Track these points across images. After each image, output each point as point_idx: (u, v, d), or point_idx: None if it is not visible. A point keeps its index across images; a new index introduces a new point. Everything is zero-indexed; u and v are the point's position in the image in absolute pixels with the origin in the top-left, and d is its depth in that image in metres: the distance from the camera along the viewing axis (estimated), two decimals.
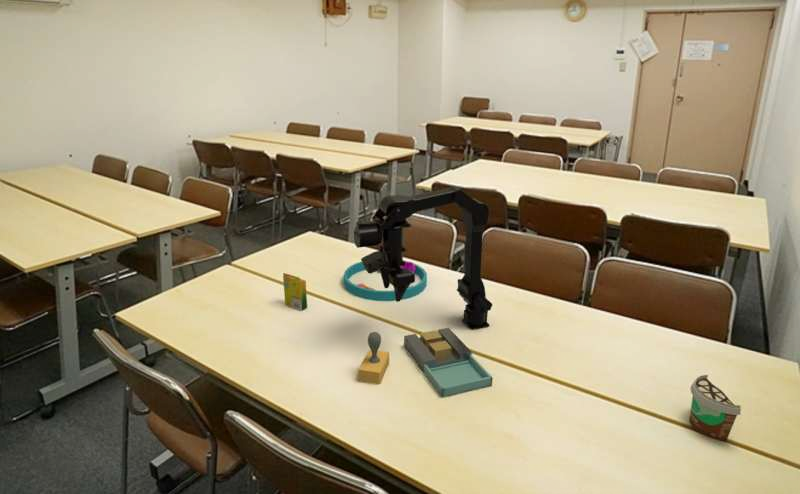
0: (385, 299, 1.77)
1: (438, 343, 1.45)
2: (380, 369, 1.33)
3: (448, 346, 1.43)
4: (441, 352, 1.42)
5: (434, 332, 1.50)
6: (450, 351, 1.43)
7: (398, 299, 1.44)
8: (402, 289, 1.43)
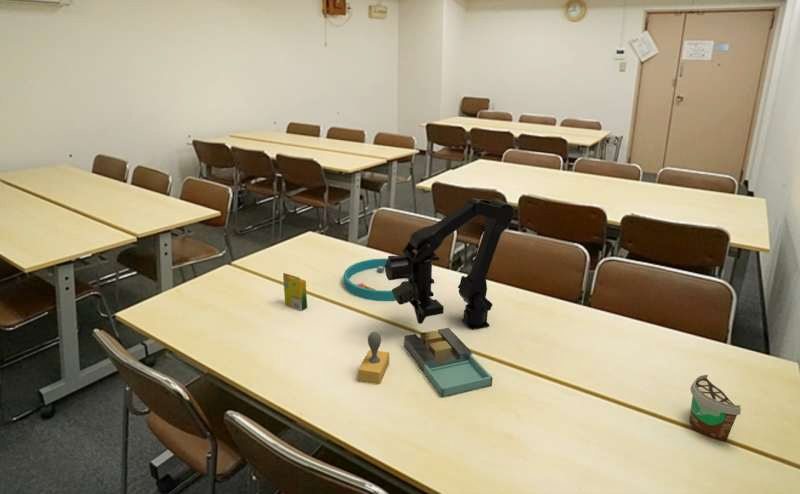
0: (385, 299, 1.77)
1: (438, 343, 1.45)
2: (380, 369, 1.33)
3: (448, 346, 1.43)
4: (441, 352, 1.42)
5: (434, 332, 1.50)
6: (450, 351, 1.43)
7: (420, 321, 1.55)
8: None
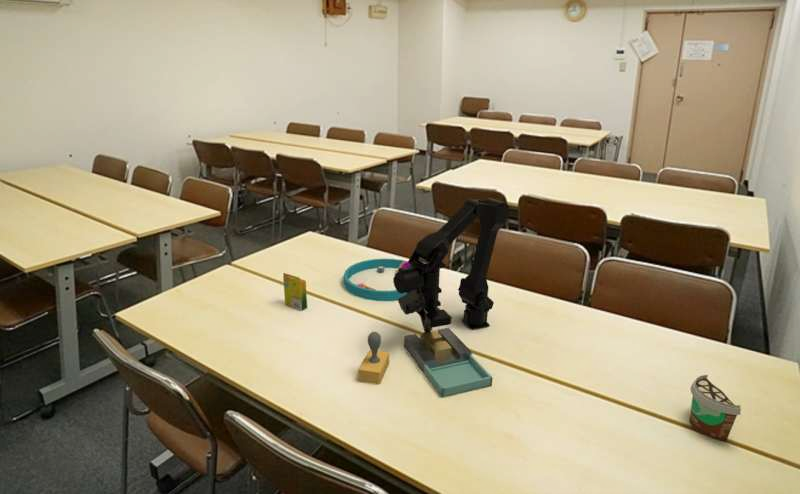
0: (385, 299, 1.77)
1: (438, 343, 1.45)
2: (380, 369, 1.33)
3: (448, 346, 1.43)
4: (441, 352, 1.42)
5: (434, 332, 1.50)
6: (450, 351, 1.43)
7: (427, 331, 1.51)
8: None
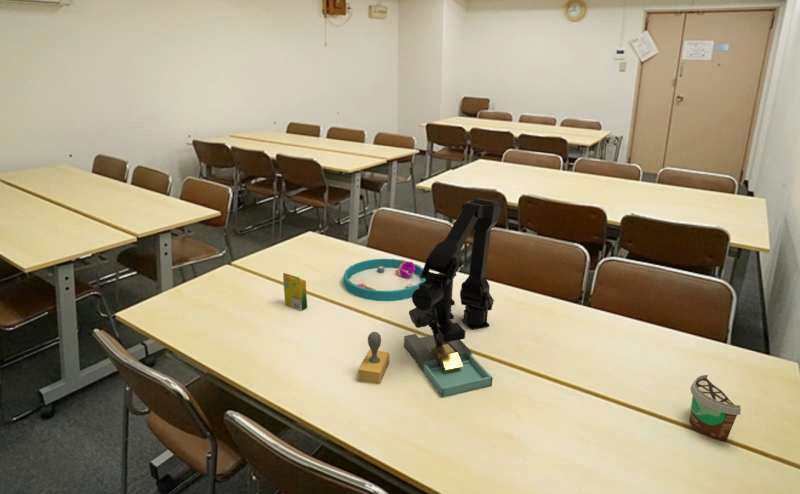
0: (385, 299, 1.77)
1: (450, 356, 1.39)
2: (380, 369, 1.33)
3: (459, 363, 1.38)
4: (452, 369, 1.37)
5: (446, 346, 1.43)
6: (460, 368, 1.38)
7: (439, 345, 1.44)
8: None
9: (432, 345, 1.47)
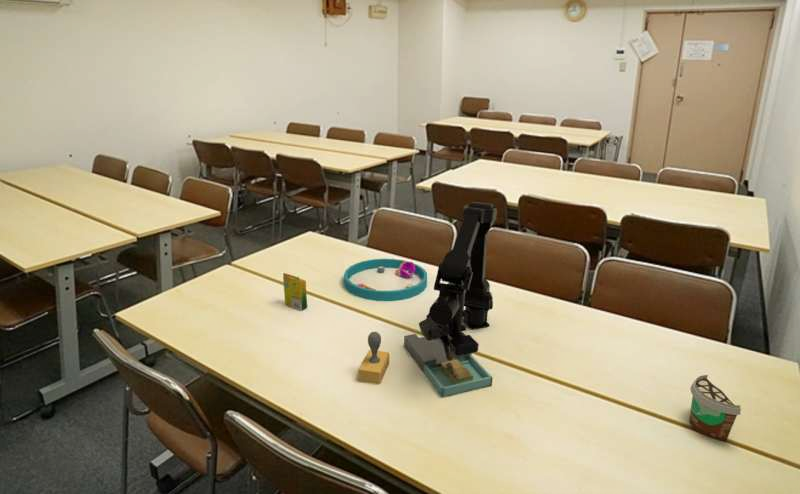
0: (385, 299, 1.77)
1: (458, 370, 1.35)
2: (380, 369, 1.33)
3: (469, 374, 1.34)
4: (462, 380, 1.32)
5: (456, 362, 1.39)
6: (471, 379, 1.33)
7: (450, 358, 1.38)
8: None
9: (432, 345, 1.47)
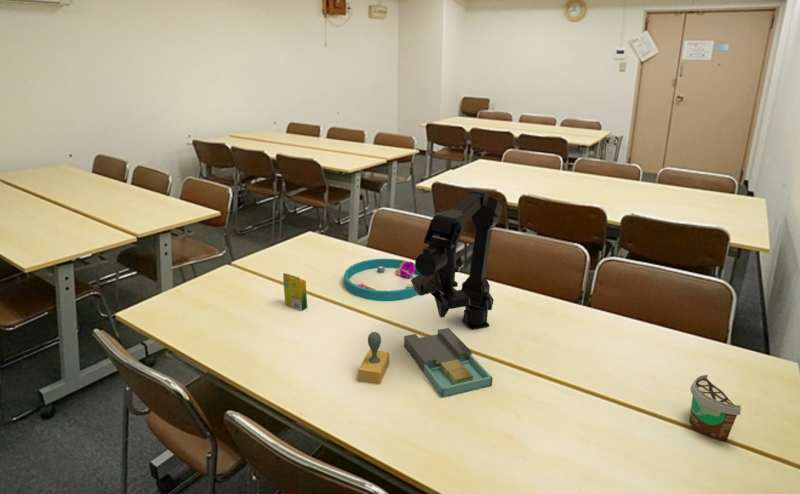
0: (385, 299, 1.77)
1: (458, 370, 1.35)
2: (380, 369, 1.33)
3: (469, 374, 1.34)
4: (462, 380, 1.32)
5: (456, 362, 1.39)
6: (471, 379, 1.33)
7: (442, 315, 1.40)
8: None
9: (432, 345, 1.47)
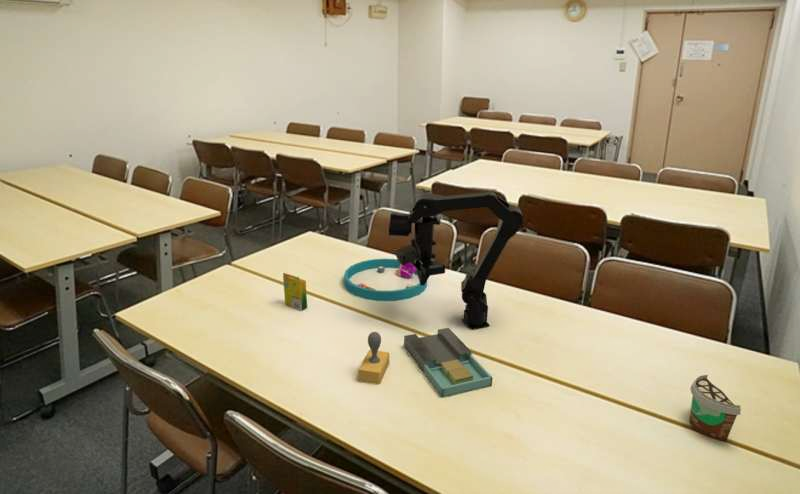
0: (386, 299, 1.77)
1: (458, 370, 1.35)
2: (380, 369, 1.33)
3: (469, 374, 1.34)
4: (462, 380, 1.32)
5: (456, 362, 1.39)
6: (471, 379, 1.33)
7: (423, 283, 1.60)
8: None
9: (432, 345, 1.47)
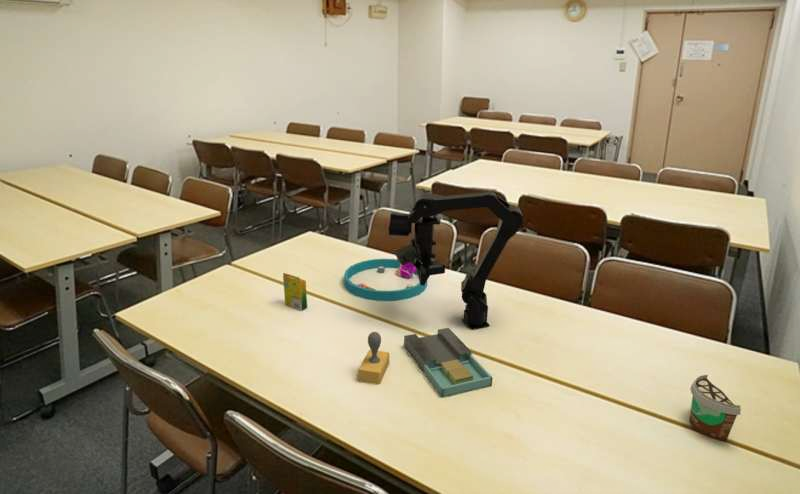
0: (386, 299, 1.77)
1: (458, 370, 1.35)
2: (380, 369, 1.33)
3: (469, 374, 1.34)
4: (462, 380, 1.32)
5: (456, 362, 1.39)
6: (471, 379, 1.33)
7: (423, 283, 1.60)
8: (427, 274, 1.59)
9: (432, 345, 1.47)
